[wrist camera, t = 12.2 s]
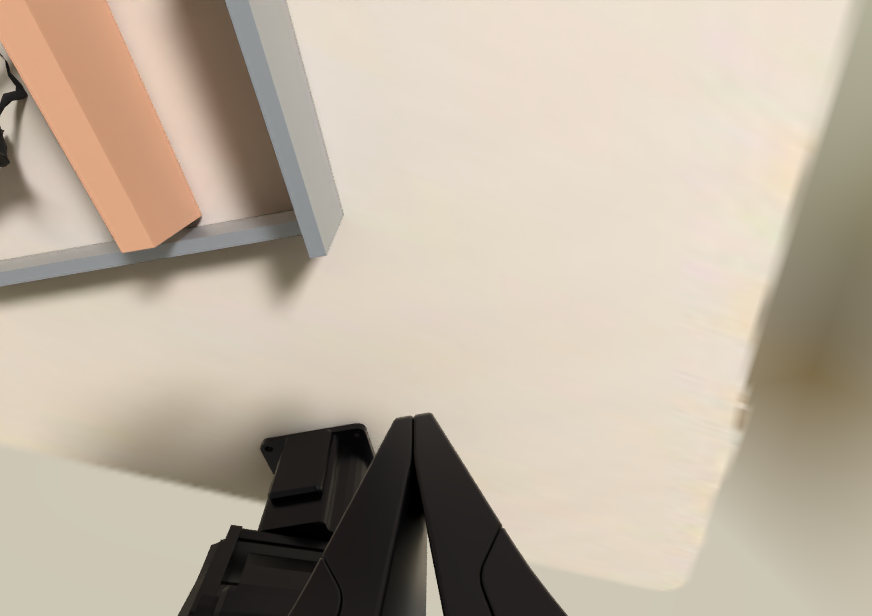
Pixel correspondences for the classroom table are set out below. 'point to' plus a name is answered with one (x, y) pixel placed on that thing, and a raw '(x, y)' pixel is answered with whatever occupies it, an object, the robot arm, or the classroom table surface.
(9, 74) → the creature
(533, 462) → the classroom table surface
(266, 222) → the frame
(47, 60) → the tall tan plank
